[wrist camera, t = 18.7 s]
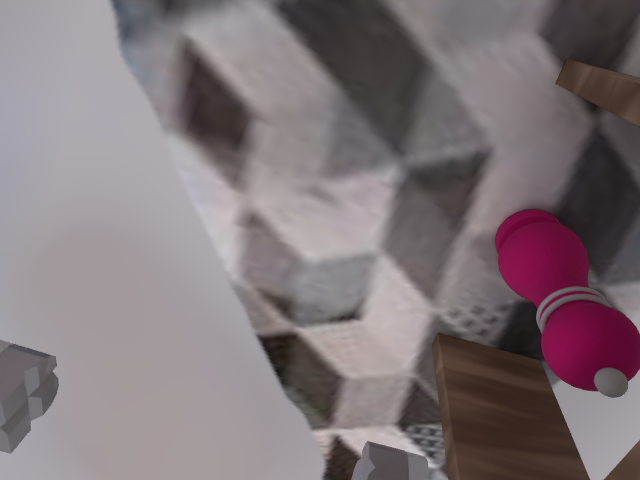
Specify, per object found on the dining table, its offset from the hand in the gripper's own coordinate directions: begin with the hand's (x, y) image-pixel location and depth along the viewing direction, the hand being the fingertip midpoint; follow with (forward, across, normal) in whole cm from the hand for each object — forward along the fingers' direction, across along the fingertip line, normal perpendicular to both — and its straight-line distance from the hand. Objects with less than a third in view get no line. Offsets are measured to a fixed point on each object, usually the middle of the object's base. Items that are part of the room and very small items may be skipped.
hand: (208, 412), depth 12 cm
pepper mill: (+34, -21, +7) cm, 41 cm away
